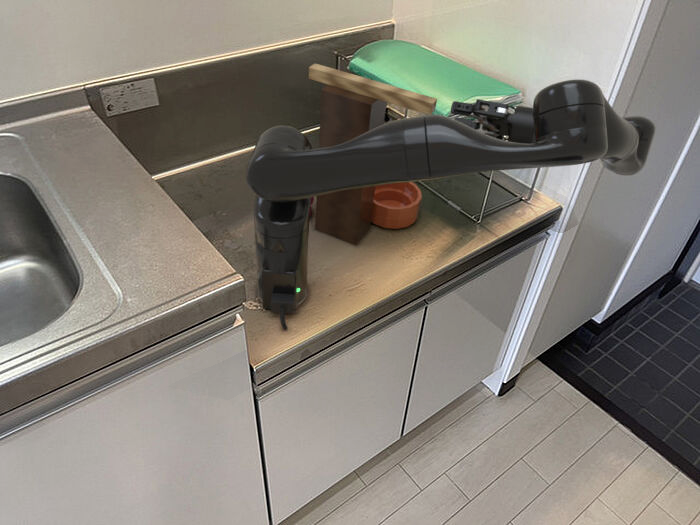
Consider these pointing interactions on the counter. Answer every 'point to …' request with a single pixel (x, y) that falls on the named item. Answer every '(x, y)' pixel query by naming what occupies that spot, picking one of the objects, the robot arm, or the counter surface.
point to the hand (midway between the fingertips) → (452, 115)
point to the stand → (335, 128)
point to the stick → (373, 89)
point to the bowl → (396, 205)
